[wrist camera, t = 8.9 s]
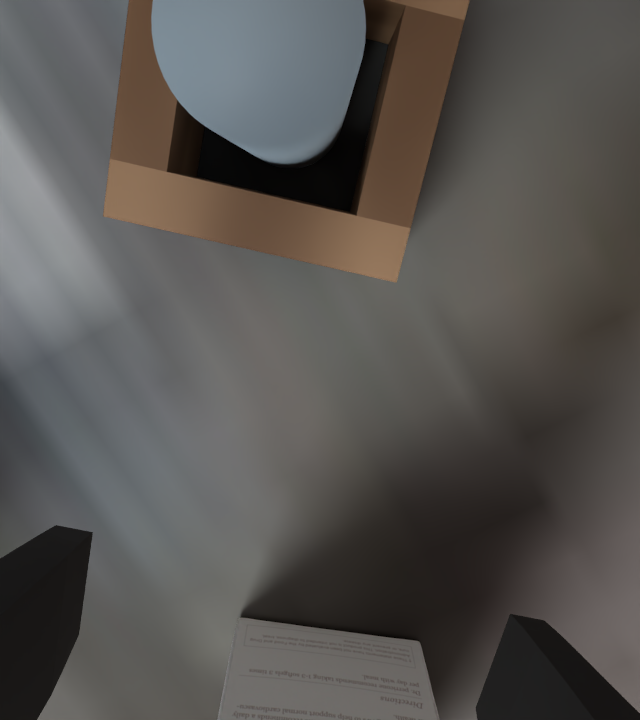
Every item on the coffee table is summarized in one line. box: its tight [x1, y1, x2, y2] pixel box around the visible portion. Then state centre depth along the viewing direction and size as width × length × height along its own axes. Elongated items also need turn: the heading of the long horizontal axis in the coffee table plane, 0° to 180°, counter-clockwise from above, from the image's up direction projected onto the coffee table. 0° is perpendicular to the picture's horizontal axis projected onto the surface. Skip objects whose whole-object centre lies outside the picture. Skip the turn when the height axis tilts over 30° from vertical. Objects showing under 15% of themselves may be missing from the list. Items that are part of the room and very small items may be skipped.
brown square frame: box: [103, 0, 470, 282], centre depth 16 cm, size 8×8×4 cm
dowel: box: [151, 0, 366, 169], centre depth 13 cm, size 3×3×9 cm
